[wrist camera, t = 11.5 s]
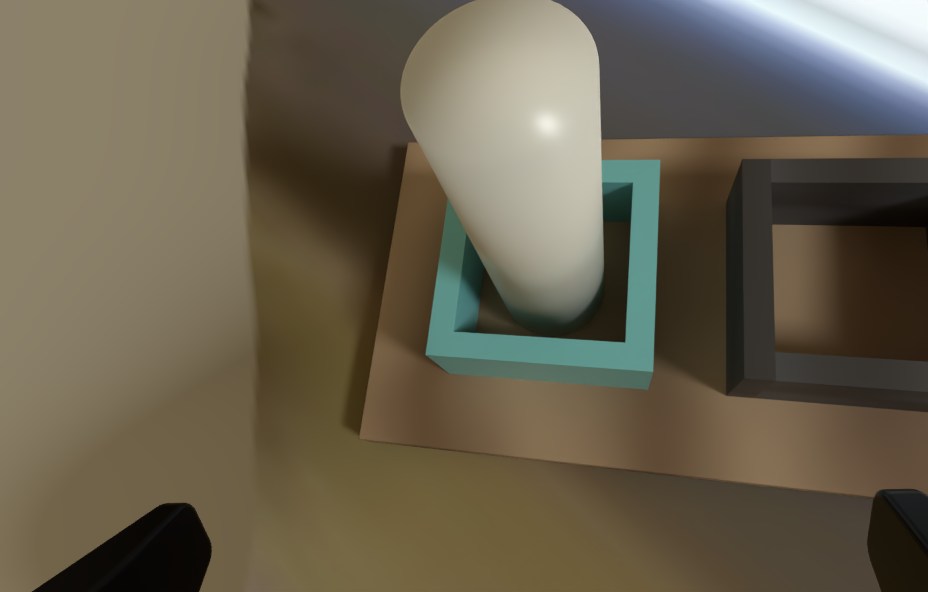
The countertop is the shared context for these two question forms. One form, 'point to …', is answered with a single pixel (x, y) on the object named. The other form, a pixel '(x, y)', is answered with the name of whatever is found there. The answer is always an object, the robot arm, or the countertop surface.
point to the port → (555, 359)
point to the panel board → (706, 325)
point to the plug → (518, 150)
